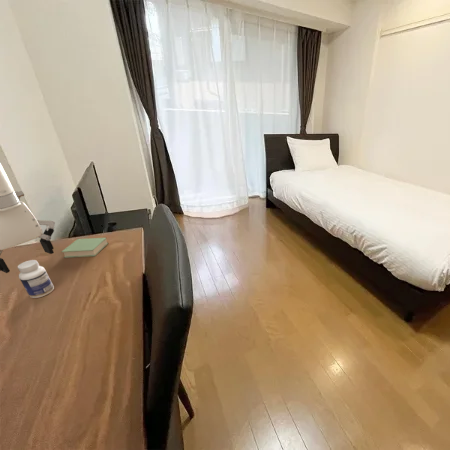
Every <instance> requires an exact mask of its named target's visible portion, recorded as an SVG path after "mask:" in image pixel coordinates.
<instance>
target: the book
mask: <svg viewBox="0 0 450 450" xmlns="http://www.w3.org/2000/svg"><path fill="white" fill-rule="evenodd" d="M108 245H109V242H108V241H107V237H91V238H89V237H88V238H77V239H75V240H74V241H73V242H72V243H70V244H69V245H67V247H65V248H64V249H63V250H62V251H61V253H63V255H64V256H63V258H64V259H67V258H68V259H69V258H89V257H96V256H97V255H98V254H99V253H100V252H101V251H103V250H104V248H106V247H107V246H108Z"/></svg>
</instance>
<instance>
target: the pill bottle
mask: <svg viewBox="0 0 450 450" xmlns="http://www.w3.org/2000/svg"><path fill="white" fill-rule="evenodd" d="M17 269H18V271H19V274H18V279H19V280H20V282H21V284H22V286H23V287H24V289H25V291H26V294H28V296H29V298H32V299H37V298H38V299H39V298H42V297H45V296H47V295H50V294H51V293H52V292H53V291H54V290H55V286H54V284H53V282H52V280H51V277H50V276H49V274H48V272H47V270H46V269H45V267H44V266H42V265H40V263H39V261H37V260H36V259H29V260H26V261H23V262H21V263H19V264H18V265H17Z"/></svg>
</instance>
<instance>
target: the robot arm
mask: <svg viewBox="0 0 450 450" xmlns="http://www.w3.org/2000/svg"><path fill="white" fill-rule="evenodd" d="M22 197H25V194H24V192H23V190H20V191H18V190H17V191H16V190H15V189H14V187H13V185H12V183H11V181H10V178H9V177H8V175H7V173H6V171H5V169H4V167H3V165H2V163H1V162H0V256H2V253H3V251H6V250H9V249H11V248H14V247H17V246H19V245H22V244H24V243H27V242H30V241H33V240H35V239H37V238H39V243H40V245H41V247H42V249H43V251H44V252H45V253H47V254H49V255H53V254H54V249H55V247H54V246H53V243H52V241H51V240H52V236H53V234H54V232H55V224H56V222H55V221H54V220H50V219H49V220H48V219H47V220H46V219H37V218H36V216H35V215H34V214H33V212H32V211H31V210H30V208H29V207H28V205H26V203H25V202H24V201H22V200H21V198H22ZM42 226H46V228H45V229H44V231H43V229H42ZM0 272H3V273H5V274H8V273H10V272H11V270H10V268H9V267H8V265H7V263H6V262H5V259H3V258H2V257H0Z"/></svg>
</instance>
